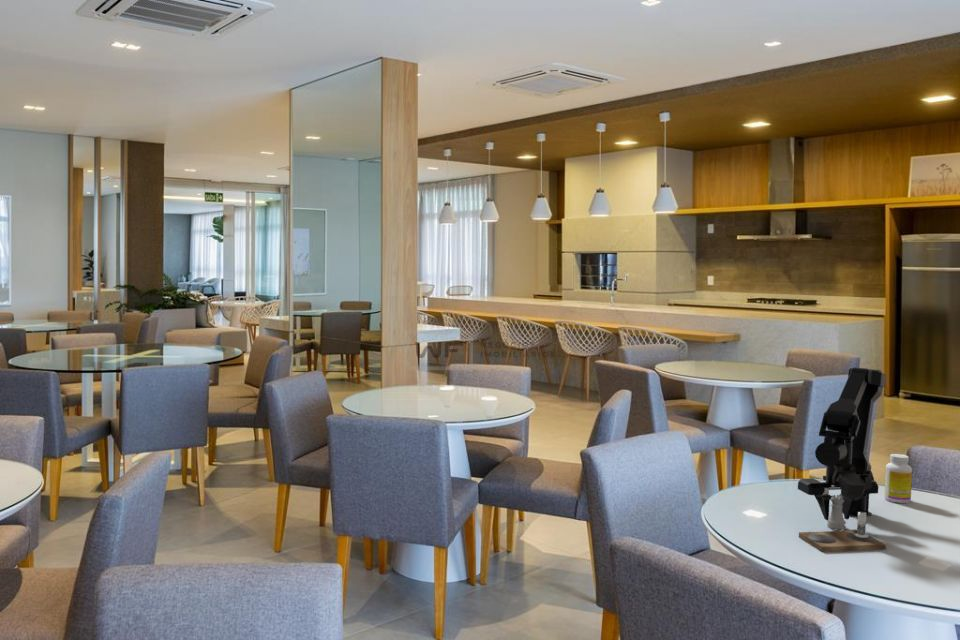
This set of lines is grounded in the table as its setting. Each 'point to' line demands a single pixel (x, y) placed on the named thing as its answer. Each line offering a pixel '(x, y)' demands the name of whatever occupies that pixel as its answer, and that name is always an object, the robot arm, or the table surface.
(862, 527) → the point post
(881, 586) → the table surface
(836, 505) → the rook chess piece
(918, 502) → the table surface
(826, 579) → the table surface
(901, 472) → the supplement bottle
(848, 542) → the board
